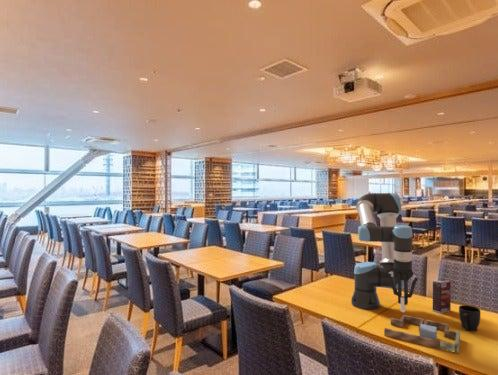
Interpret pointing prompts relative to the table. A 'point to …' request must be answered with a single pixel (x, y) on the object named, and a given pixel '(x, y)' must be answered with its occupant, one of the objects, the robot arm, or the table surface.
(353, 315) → the table surface
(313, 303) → the table surface
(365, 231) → the robot arm
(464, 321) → the mug
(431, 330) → the block
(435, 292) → the supplement box
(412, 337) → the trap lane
